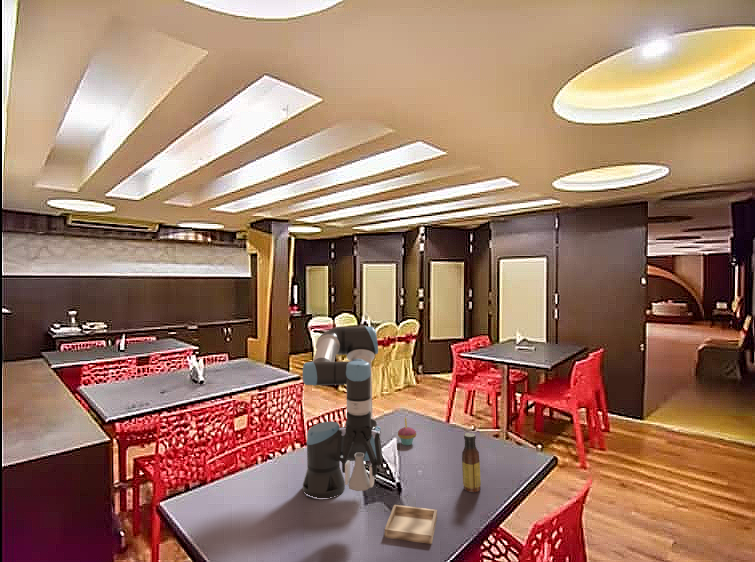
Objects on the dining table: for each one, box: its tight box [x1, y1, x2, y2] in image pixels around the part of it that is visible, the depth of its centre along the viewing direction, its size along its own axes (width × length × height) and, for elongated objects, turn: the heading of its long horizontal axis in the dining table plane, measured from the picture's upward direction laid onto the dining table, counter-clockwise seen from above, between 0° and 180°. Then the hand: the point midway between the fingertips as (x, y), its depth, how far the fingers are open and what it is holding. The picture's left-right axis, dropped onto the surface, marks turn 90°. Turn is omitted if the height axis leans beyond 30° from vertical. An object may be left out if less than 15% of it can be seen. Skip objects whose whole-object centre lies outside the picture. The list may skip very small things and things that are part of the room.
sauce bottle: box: [461, 432, 482, 493], centre depth 157 cm, size 6×6×20 cm
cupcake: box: [397, 415, 417, 446], centre depth 200 cm, size 9×8×12 cm
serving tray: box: [383, 504, 438, 545], centre depth 135 cm, size 14×14×2 cm
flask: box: [348, 453, 371, 492], centre depth 136 cm, size 7×7×10 cm
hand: (359, 483), depth 137 cm, fingers closed on flask, 7 cm apart
